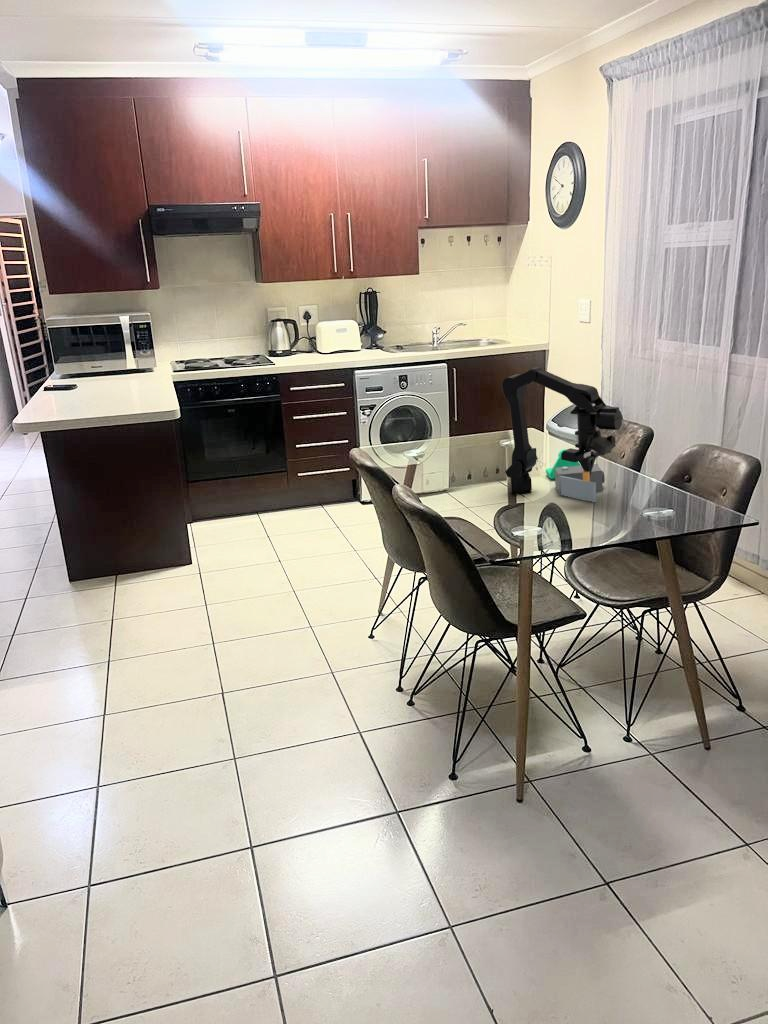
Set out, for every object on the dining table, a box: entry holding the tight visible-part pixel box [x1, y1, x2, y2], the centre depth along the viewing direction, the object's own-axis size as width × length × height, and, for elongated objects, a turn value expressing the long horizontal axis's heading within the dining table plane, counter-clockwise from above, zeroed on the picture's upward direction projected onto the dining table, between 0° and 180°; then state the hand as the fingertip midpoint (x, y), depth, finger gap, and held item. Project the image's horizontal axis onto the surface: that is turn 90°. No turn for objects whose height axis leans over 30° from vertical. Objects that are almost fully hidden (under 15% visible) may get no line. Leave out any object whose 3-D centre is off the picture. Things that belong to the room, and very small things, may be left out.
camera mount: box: [545, 448, 581, 480], centre depth 265 cm, size 12×8×10 cm, turn 91°
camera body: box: [554, 463, 606, 493], centre depth 250 cm, size 15×8×8 cm, turn 86°
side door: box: [558, 471, 597, 503], centre depth 241 cm, size 14×1×10 cm, turn 38°
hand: (588, 475), depth 238 cm, fingers closed
